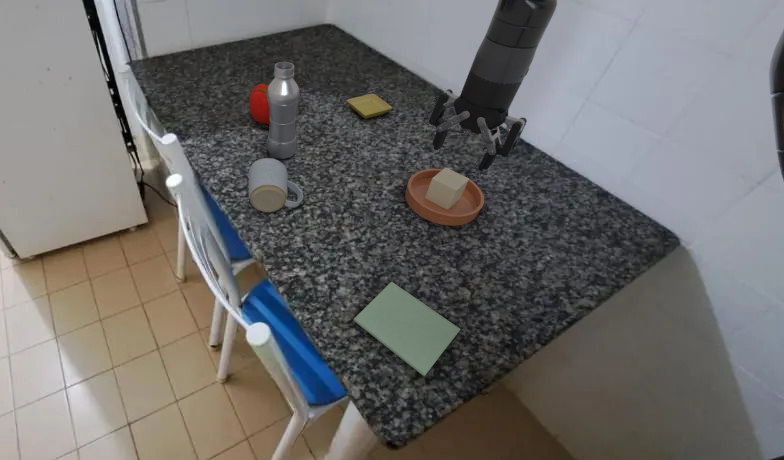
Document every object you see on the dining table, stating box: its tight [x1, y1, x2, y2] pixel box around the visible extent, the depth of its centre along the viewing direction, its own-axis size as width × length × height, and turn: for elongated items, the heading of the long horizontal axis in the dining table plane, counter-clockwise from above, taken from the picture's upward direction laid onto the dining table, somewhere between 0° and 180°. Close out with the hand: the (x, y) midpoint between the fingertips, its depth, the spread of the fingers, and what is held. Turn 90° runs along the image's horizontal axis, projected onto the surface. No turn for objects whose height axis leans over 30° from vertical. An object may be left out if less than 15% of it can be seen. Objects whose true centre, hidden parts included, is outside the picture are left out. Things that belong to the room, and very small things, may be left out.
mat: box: [353, 281, 461, 377], centre depth 58 cm, size 12×10×1 cm
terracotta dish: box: [404, 168, 485, 227], centre depth 77 cm, size 14×14×2 cm
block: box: [425, 167, 470, 210], centre depth 75 cm, size 5×5×5 cm
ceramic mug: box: [248, 157, 304, 213], centre depth 74 cm, size 11×8×8 cm
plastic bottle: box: [266, 61, 301, 160], centre depth 81 cm, size 6×7×20 cm
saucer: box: [346, 93, 393, 120], centre depth 101 cm, size 9×9×2 cm
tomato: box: [248, 83, 270, 126], centre depth 95 cm, size 11×11×9 cm
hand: (458, 158), depth 70 cm, fingers open, 8 cm apart
